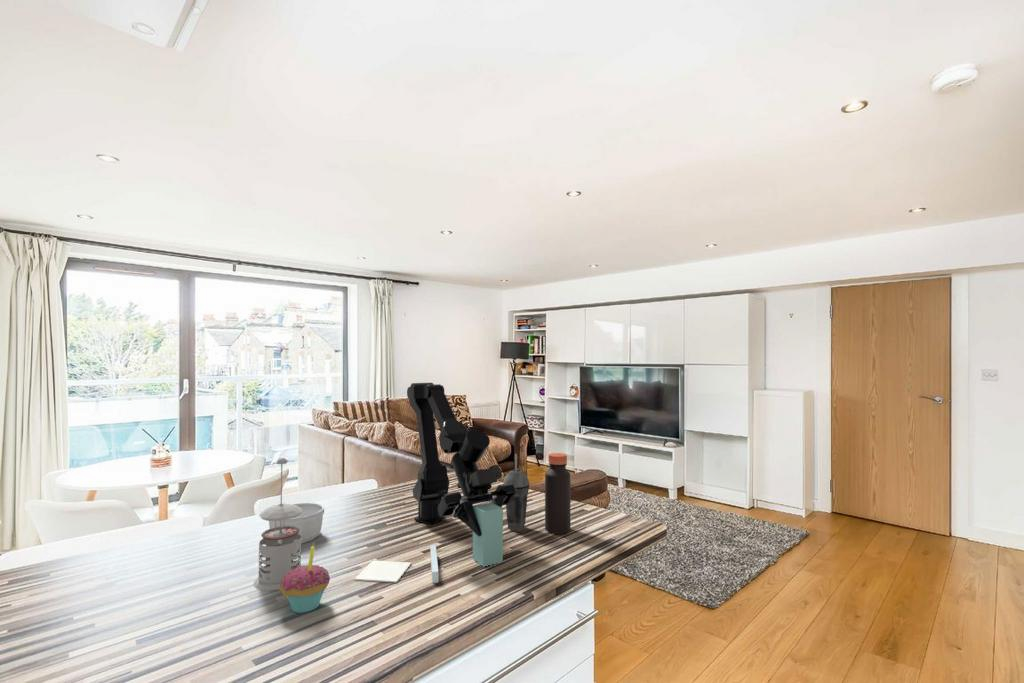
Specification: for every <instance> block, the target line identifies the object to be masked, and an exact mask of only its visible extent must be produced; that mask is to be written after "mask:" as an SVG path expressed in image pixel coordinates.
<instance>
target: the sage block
mask: <svg viewBox="0 0 1024 683" xmlns="http://www.w3.org/2000/svg"><path fill="white" fill-rule="evenodd" d="M473 511H474V514H475V516H476V519H477V521H478V524H479V526H480V529H481V533H482V535H481V536H478V535H477V534H476V533H475V532H473V531H472V560H473V559H474V560H475V561H474V560H473V561H474V562H476V561H477V562H478V563H479V564H481V565H482V566H483V567H482V566H481V565H480V566H481V567H482V568H486V567H485V566H487V567H489V566H488V565H490V566H493V565H492V564H494V565H497V564H496V563H498V564H501V563H500V562H502V563H503V562H504V560H503V559H504V558H503V557H504V540H503V539H504V508H503V507H502V508H501V507H499V506H497V505H495V504H493V503H489V502H487V503H482V504H478V505H473ZM477 562H476V563H477ZM478 563H477V564H478ZM479 564H478V565H479Z"/></svg>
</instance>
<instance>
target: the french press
mask: <svg viewBox="0 0 1024 683" xmlns="http://www.w3.org/2000/svg"><path fill="white" fill-rule="evenodd" d="M287 463H288V461H287V458H285V457H279V458H278V459H277V462H276V464H277V465H281V466H280V503H278V504H274V505H271V506H269V507H266V508H265V509H264V510H262V511H261V512H260V513H259V515H258V516H259V517H260V518H261V519H262V520H264V521H267V522H269V521H275V528H271V529H270V528H269V529H266V530H264V531H263V532H262V533H261V538H262V539H260V540H259V542H258V551H259V552H258V576H257V577H256V579H255V580H254V582H253V584H252V585H253V587H254V589H256V590H259V591H268V592H269V591H270V592H271V591H278V590H280V588H279V585H280V582H281V580H282V579H283V577H284V576H285V575H286V573H289V571H291V570H292V569H294V568H296V567H299V566H302V564H301V561H302V557H301V556H302V551H301V550H302V545H301V544H302V543H301V536H300V535H299V534H298V532H299V530H300V529H299V528H297V527H294V526H285V527H284V522H285V520H286V519H291V518H294V517H297V516H298V515H300V514H301V512H302V509H301V508H300V507H298V506H296V505H291V503H283V502H282V501H283V465H286V464H287ZM281 520H283V527H282V526H281ZM276 521H280V527H276ZM281 539H282V545H279V544H278V540H281ZM296 539H299V540H298V541H296V542H294V540H296ZM278 545H279V546H278ZM296 553H297V554H296ZM263 558H264V559H263ZM262 564H263V565H264V566H263V565H262Z"/></svg>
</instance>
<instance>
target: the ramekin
mask: <svg viewBox="0 0 1024 683" xmlns="http://www.w3.org/2000/svg"><path fill="white" fill-rule="evenodd" d="M290 504H291V503H290ZM291 505H296V506H298V507H300V508H301V509H302V512H301V514H300V515H298V516H297V517H294V518H291V519H286V520H285V522H284V527H285V526H294V527H297V528H299V529H300V530H299V532H298V534H299V535H300V536H301V544H306V543H308V542H311V541H313V540H315V539H316V538H317V537H318V536H319V535H320V533H321V531H322V528H323V519H324V518H323V517H324V514H325V506H324V505H322V504H320V503H315V502H301V503H292V504H291ZM268 525H269V529H271V528H275V521H268ZM281 526H282V527H283V520H281ZM276 527H280V521H276ZM298 540H299V539H296V540H294V542H296V541H298ZM278 545H279V546H282V539H281V540H278Z"/></svg>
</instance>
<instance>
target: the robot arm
mask: <svg viewBox="0 0 1024 683" xmlns="http://www.w3.org/2000/svg"><path fill="white" fill-rule="evenodd" d="M406 396H407V399H408V401H409V406H410V407H411V409H412V410H413V411H414V413H415V414H416V420H417V429H418V440H419V446H420V454H421V466H420V468H419V470H418V472H417V481H416V483H415V485H414V486H413V489H412V496H413V497H412V498H413V499H414V500H416V501H418V502H417V503H418V505H417V506H418V511H417V512H418V514H417V516H416V517H414V518H413V520H414V521H416V522H421V523H424V524H427V525H431V524H435V523H438V522H439V521H442V520H445V519H446V518H447V517H449V516H452V515H453V516H452V517H453V518H454V519H456V518H457V519H458V520H459V521H461V522H462V523H464V524H465V525H466V526H467V527H468V528H469V529H470V530H471V531H472V533H473V532H475V533H476V534H477V535H478V536H481V535H482V533H481V529H480V526H479V524H478V521H477V519H476V516H475V514H474V511H473V506H474V505H475V504H481V503H482V504H483V503H486V502H487V503H493V504H495V505H497V506H499V507H501V508H503V506H506V505H507V504H508V503H510V501H511V500H512V498H513V497H514V496H515V494H516V493H517V491H516V488H515V486H514V485H513V484H511V483H509V484H499V485H498V486H497V487H496V488H495V490H494V491H490V492H489V490H491V488H492V484H493V483H498V480H499V479H501V478H502V477H503V474H502V469H501V468H500V466H499V464H494V465H493V464H492V465H491V466H489V467H488V468H485V469H482V468H481V469H480V468H479V465H478V463H477V462H479V461H480V460H481V459H482V457H483V456H484V454H485V452H486V450H487V449H488V447H489V446H490V443H491V442H490V441H491V439H490V437H489V435H487V434H486V433H485V432H484V431H483V430H479V429H478V427H477V426H469V427H468V428H467V427H466V426H465V424H464V423H462V422H460V421H458V419H457V417H456V415H455V413H454V411H453V409H452V406H451V405H450V403H449V400H448V398H447V396H446V394H445V387H444V385H442V384H440V383H439V384H436V383H435V384H434V382H412V383H411V384H410V386H408V387H407V388H406ZM435 419H436V422H437V424H438V426H439V430H440V433H439V435H438V441H439V446H440V449H441V450H442V452H443V453H444V454H447V455H448V454H453V456H452V457H451V460H450V463H449V469H453V470H454V473H455V476H456V479H457V481H458V482H457V484H456V487H457V489H461V492H459V491H456V492H450V493H449V489H450V479H449V476H448V468H447V466H446V464H442V462H441V461H440V458H439V457H440V456H439V450H438V448H439V447H438V442H437V433H436V424H435Z"/></svg>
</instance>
